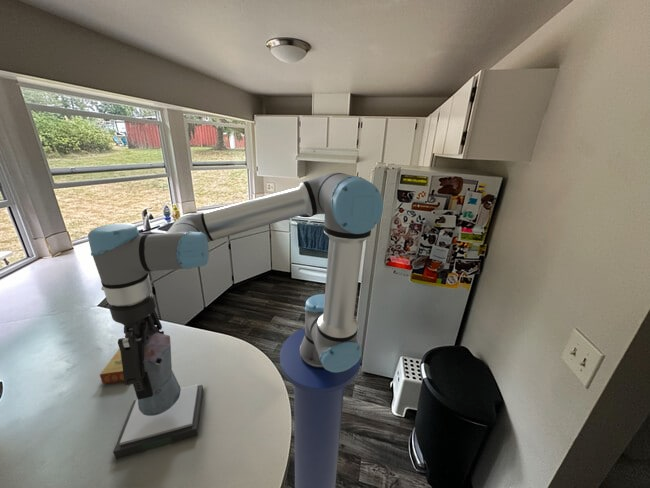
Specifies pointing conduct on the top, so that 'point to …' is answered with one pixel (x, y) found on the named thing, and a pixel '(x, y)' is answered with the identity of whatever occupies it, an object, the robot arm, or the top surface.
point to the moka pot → (159, 375)
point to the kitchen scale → (161, 424)
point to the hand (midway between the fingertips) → (152, 376)
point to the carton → (113, 370)
